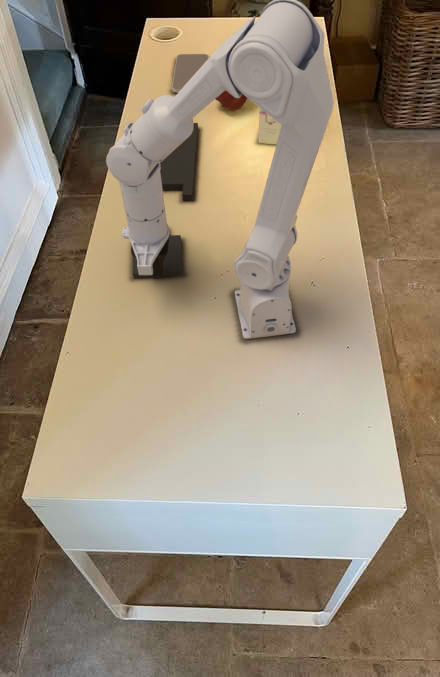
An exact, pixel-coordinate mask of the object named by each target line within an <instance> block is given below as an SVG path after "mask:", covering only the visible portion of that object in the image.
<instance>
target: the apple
mask: <svg viewBox="0 0 440 677" xmlns="http://www.w3.org/2000/svg"><path fill="white" fill-rule="evenodd" d="M215 101H218V103H220V105H221V107H222V108H224V109H226V110H228V111H237V110H240V109H241V108H242V107H243V106H244V105H245V104H246V103H247V101H248V98H247V97H246V96H245V95H244V94H242V95H241V97H240V98H235V97H234V96H232V95H231V94H230V93H228V92H227V91H224V92H223V93H221V94H220V95H219V96H218V97H217V98H216V99H215Z"/></svg>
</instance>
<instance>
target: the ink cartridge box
mask: <svg viewBox="0 0 440 677" xmlns="http://www.w3.org/2000/svg"><path fill="white" fill-rule="evenodd" d="M258 110H259V111H258V115H259V116H258V143H259V144H268V145H277V141H278V137H279V133H280V130H281V126H282V124H280V123H279V122H277V121H276V120H275V119H274V118H272V117H271V116H270V115H269V114H267V113H266V112H265V111H264V110H262V109H261V108H260V107H258Z"/></svg>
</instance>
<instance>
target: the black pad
mask: <svg viewBox="0 0 440 677" xmlns="http://www.w3.org/2000/svg"><path fill="white" fill-rule="evenodd" d="M193 123H194V126H193V131H192V134H191V135H190V136H189V137H188V138H187V139H186V140H185V141H184V142H183V143H182V144H180V145H179V146H178V147H177V148H176V149H175V150H174V151H173V152H172V153H171V154H170V155H168V156H167V157H166V158H165V159H164V160H163V161H162V162H160V166H161V169H160V174H161V181H162V189H163V191H182V201H183V202H193V201H194V190H195V178H196V165H197V164H196V162H197V150H198V136H199V123H198V122H193Z"/></svg>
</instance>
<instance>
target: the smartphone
mask: <svg viewBox="0 0 440 677" xmlns="http://www.w3.org/2000/svg"><path fill="white" fill-rule="evenodd" d="M209 57H210V55H209V54H207V53H179V54H177V55H176V58H175V66H174V72H173V78H172V84H171V90H172V92H173V93H175V94H178V92H179V91H180V90H181V89H182V88H183V87H184V86H185V85H186V83H187V82H188V81H189V80H190V79H191V78H192V77H193V76H194V74H195V73H196V72H197V71H198V70H199V69H200V68H201V66H202V65H203V64H204V63H205V62H206V61H207V60H208V59H209Z"/></svg>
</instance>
